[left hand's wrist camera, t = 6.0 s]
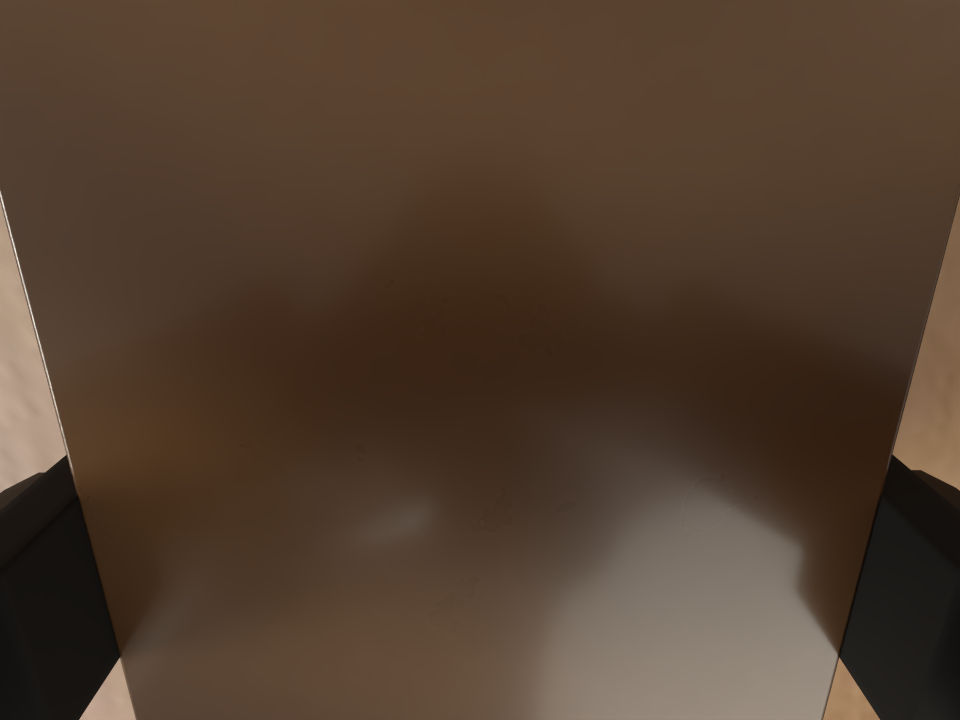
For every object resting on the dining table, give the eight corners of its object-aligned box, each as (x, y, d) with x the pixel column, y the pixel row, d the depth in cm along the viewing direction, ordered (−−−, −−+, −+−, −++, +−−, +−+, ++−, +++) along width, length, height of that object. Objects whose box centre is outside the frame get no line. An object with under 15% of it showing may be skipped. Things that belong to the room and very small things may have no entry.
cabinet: (233, -190, 14) (-267, -796, 4) (725, -190, 14) (1222, -794, 4) (307, 484, 19) (158, 810, 10) (651, 484, 19) (801, 810, 10)
